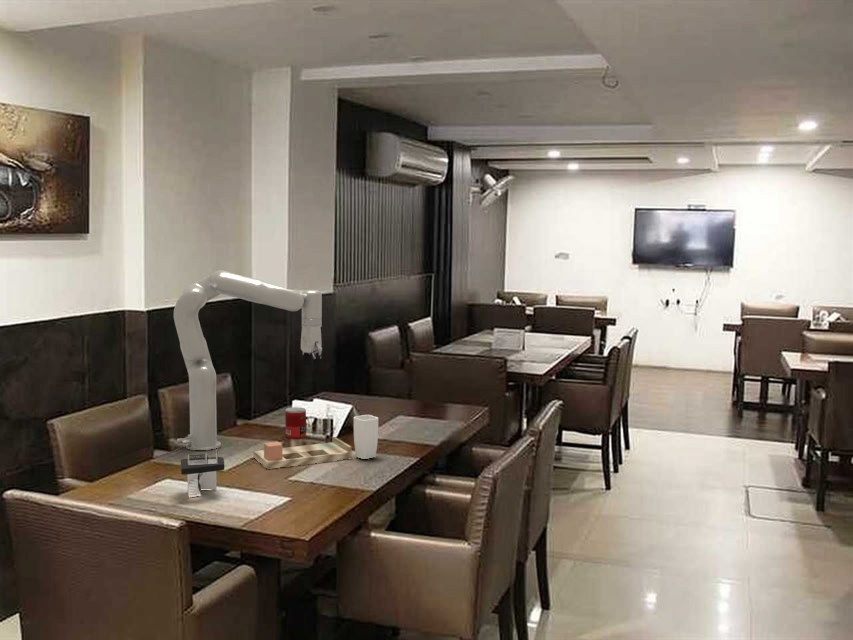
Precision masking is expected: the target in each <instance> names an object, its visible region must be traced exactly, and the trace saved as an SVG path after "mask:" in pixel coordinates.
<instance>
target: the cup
mask: <svg viewBox="0 0 853 640" xmlns="http://www.w3.org/2000/svg"><path fill="white" fill-rule="evenodd" d="M378 442H379V417H378V416H374V415H372V414H362V415H357V416H353V444H354V451H355V457H356V458H357V457H358V458H357V459H359V458H361V459H360V460H362V459H368V460H370V459H369V458H373V457H375V458H377V457H376V456H377V449H378ZM373 459H374V458H373Z"/></svg>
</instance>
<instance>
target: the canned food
mask: <svg viewBox="0 0 853 640" xmlns="http://www.w3.org/2000/svg"><path fill="white" fill-rule="evenodd" d="M284 416H285V419H284V421H285V437H286V438H287V439H290V440H301V439H304V438H306V436H307V409H306V408H304V407H300V406H299V407H298V406H297V407H294V406H293V407H292V406H291V407H288V408H286V409H285V415H284Z"/></svg>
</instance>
